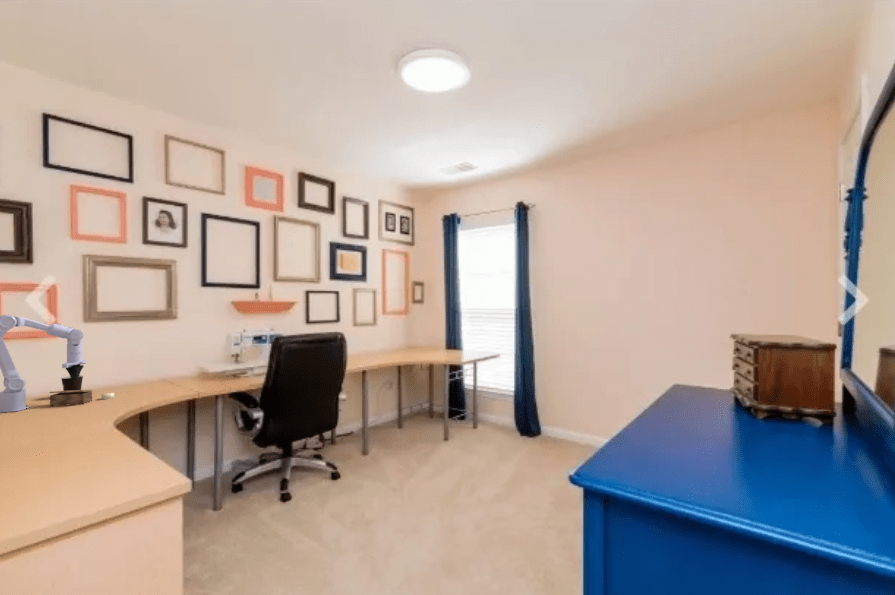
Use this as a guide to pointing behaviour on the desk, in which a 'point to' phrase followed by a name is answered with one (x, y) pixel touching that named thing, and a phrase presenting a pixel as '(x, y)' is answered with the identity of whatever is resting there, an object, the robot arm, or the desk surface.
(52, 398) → the walnut box
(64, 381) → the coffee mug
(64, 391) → the lid
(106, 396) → the cream domed disc
